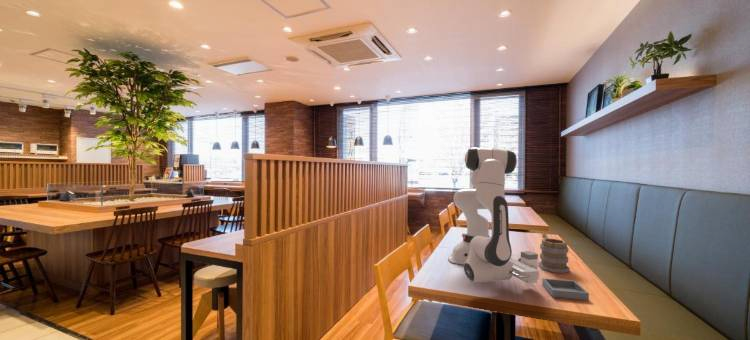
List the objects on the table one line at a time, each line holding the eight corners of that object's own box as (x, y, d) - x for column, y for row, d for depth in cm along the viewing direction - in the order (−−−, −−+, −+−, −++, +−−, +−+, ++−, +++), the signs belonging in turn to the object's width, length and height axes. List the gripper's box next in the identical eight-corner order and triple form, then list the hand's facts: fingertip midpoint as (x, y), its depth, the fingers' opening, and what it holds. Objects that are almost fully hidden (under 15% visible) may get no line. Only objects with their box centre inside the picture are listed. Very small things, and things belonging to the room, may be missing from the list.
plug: (528, 283, 125) (528, 255, 125) (520, 279, 130) (520, 251, 129) (537, 282, 127) (537, 254, 126) (529, 278, 131) (529, 251, 130)
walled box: (552, 297, 119) (552, 290, 119) (542, 285, 132) (542, 278, 132) (588, 300, 117) (588, 293, 117) (574, 287, 129) (574, 280, 129)
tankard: (573, 274, 145) (573, 242, 145) (544, 272, 148) (544, 241, 147) (557, 260, 165) (557, 233, 164) (531, 259, 167) (532, 232, 167)
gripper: (520, 269, 115) (550, 266, 118) (487, 253, 134) (514, 251, 138) (520, 286, 115) (550, 282, 118) (487, 267, 135) (513, 265, 138)
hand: (530, 265), depth 128 cm, fingers closed on plug, 4 cm apart
